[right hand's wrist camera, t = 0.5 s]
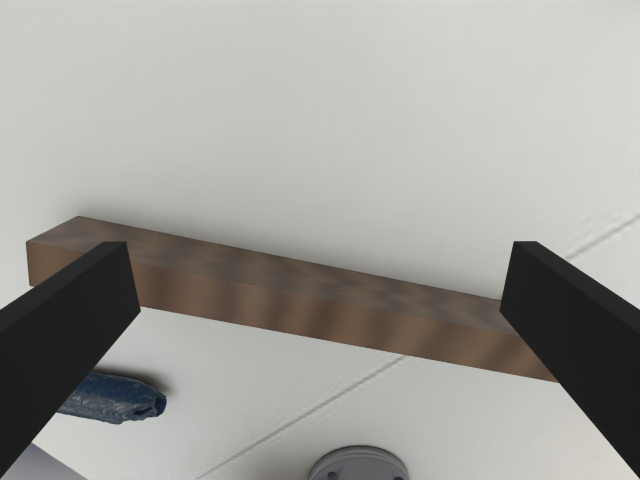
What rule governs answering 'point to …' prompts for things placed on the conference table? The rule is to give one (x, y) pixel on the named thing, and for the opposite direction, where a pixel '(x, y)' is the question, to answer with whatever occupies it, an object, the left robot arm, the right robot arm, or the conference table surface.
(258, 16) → the conference table surface
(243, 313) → the bar
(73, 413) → the fish model
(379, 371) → the conference table surface
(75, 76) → the conference table surface
